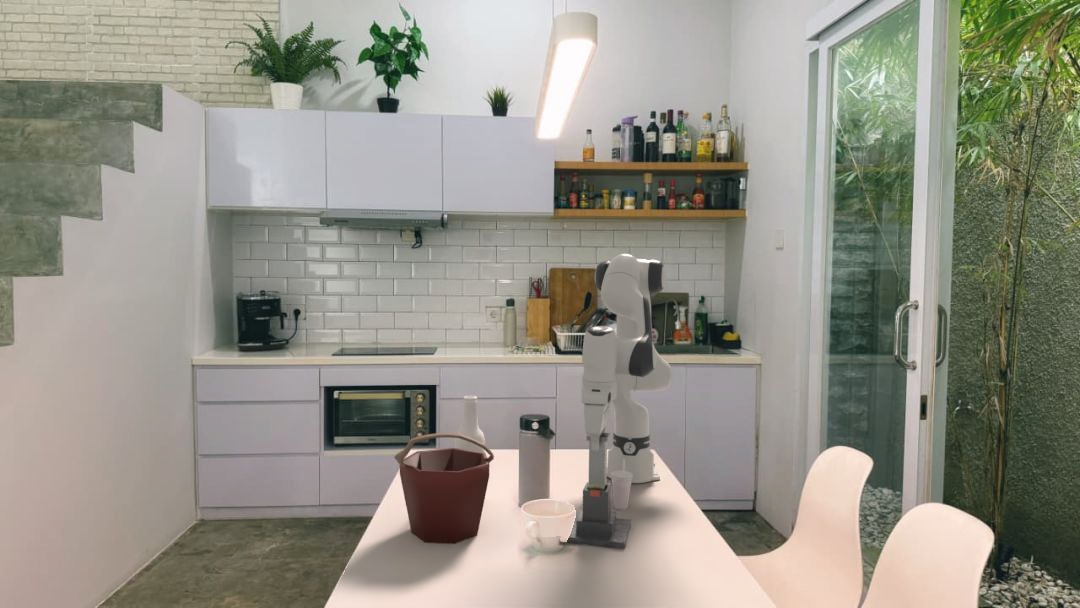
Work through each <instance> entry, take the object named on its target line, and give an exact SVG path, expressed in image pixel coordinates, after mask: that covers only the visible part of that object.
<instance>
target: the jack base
mask: <svg viewBox="0 0 1080 608" xmlns="http://www.w3.org/2000/svg"><path fill="white" fill-rule="evenodd" d="M588 483H589V481H588V482H586V483H585V485H584V488H583V489H582V508H581V511H580V513H579V514H576V513H575V514H576V518H575V521H574V525H573V528H572V531H571V534H570V536H569V538H568V540H567V543H566V544H573V545H582V546H583V545H584V546H593V547H599V548H600V547H601V548H603V547H604V548H613V549H622V550H625V548H626V546H627V541H628V538H629V534H630V529H631V527H632V526H631V525H632V524H631V523H632V519H629V518H619V517H618V518H617V511H612V483H611V484H610V483H609V484H607V483H606V491H601V490H588Z"/></svg>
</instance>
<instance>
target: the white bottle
mask: <svg viewBox="0 0 1080 608" xmlns="http://www.w3.org/2000/svg"><path fill="white" fill-rule="evenodd" d="M462 403H463V408H462V409H463V410H462V418H461V419H462V420H461V426H460V428H459V430H458V431H457V434H462V435H465V436H468V437H470V438H473V439H475V440H477V441H479V442H481V443H483V444H485V445H486V439H485V435H484V433H483V430H481V429H480V428H479V421H478V406H477V403H478V397H477V396H476V395H465V396H463V401H462ZM454 448H458V449H464V450H470V451H476V452H482V453H486V451H485V450H484V449H483V448H481V447H479V446H477V445H475V444H474V443H471V442H469V441H466V440H463V439H460V438H454Z"/></svg>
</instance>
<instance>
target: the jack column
mask: <svg viewBox="0 0 1080 608" xmlns="http://www.w3.org/2000/svg"><path fill="white" fill-rule="evenodd" d="M586 435H587V434H586ZM610 438H611V433H610V432H605V433H601V435H600V437H599V442H600V445H599V450H592V443H591V435H587V436H586V441H589V442H588V451H589V452H588V490H601V491H606V484H607V476H606V470H607V463H608V441H609V439H610Z"/></svg>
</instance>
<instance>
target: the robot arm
mask: <svg viewBox="0 0 1080 608" xmlns="http://www.w3.org/2000/svg"><path fill="white" fill-rule="evenodd" d="M594 282H595V285H596V289H597V290H598V291H600V299H601V302H602V304H603V305H604V307H606V308H607V310H609V312H611V313H613V314H614V315H616V330H615V328H612V327H609V326H606V325H596V326H592V327H589V328H587V329H586V330H585V334H584V339H583V345H582V351H581V353H582V354H581V355H582V356H581V359H582V360H581V363H582V366H583V372H582V373H583V374H582V377H581V403H582V404H583V416H584V417H583V418H584V431H585V434H586V435H591V443H592V450H599V445H600V442H599V437H600V435H601V433H606V428H607V424H608V422H609V420H610V419H611V407H612V410H613V418H614V419H613V420H614V432H613V435H612V447H611V448H610V449H609V450H607V470H606V478H609V479H611V480H612V478H611V477H610V476H611V472H613V471H623V459H625V471H628V472H631V473H632V474H633V478H632V480H631V484H643V483H644V484H645V483H647V482H648V483H649V482H651V481H659V480H661V477H660V476H661V475H660V474H659V472H658V470H657V468H656V463H655V453H653V451H652V449H650V445H651V435H650V434H649V430H650V427H649V426H650V413H649V410H648V409H647V407H646V406H644V404H643V405H642V404H641V403H639V402H637V401H635V400H634V399H632V393H655V392H659V391H660V392H661V391H664V390H667V389H668V388H670V386H671V383H672V381H673V378H674V377H673V375H674V374H673V370H672V367H671V365H670V363H668V361H667V360H666V359H664V358H663V357H662V356H661V355H660V354H659V353H658V351H657V350H656V347H655V345H654V339H653V326H652V325H653V323H652V303H651V302H652V301H651V298H654V297H655V295H657V294H660V293H661V292H662V291H663V290H664V287H665V285H666V282H667V271H666V269H665V265H664V264H663V262H661V261H660V260H657V259H650V260H647V259H641V258H636V257H635V256H634V255H631V254H629V253H621V254H618V255H616V256H614V257H613V258H612V259H606V260H603V261H601V262H600V263H598V264H597V266H596V269H595V272H594Z"/></svg>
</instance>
